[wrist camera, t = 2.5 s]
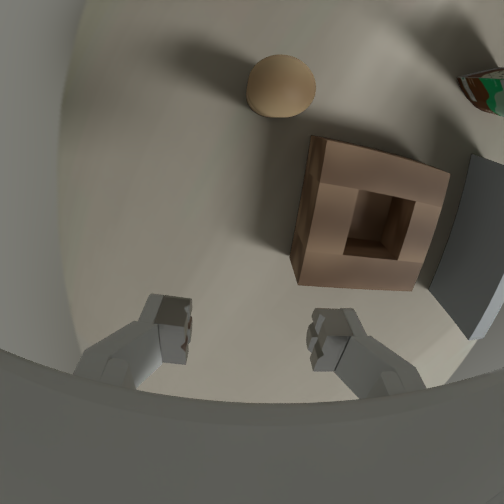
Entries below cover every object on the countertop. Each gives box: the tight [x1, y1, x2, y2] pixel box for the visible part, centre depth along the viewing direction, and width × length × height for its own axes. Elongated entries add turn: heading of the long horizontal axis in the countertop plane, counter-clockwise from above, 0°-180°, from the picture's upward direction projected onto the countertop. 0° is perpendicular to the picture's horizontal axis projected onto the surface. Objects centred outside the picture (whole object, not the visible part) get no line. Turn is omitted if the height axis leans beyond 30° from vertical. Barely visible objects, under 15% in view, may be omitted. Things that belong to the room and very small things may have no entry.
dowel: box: [246, 55, 316, 117], centre depth 18 cm, size 4×4×8 cm
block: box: [290, 135, 450, 291], centre depth 24 cm, size 12×12×5 cm
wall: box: [429, 154, 504, 340], centre depth 23 cm, size 18×3×10 cm, turn 173°
